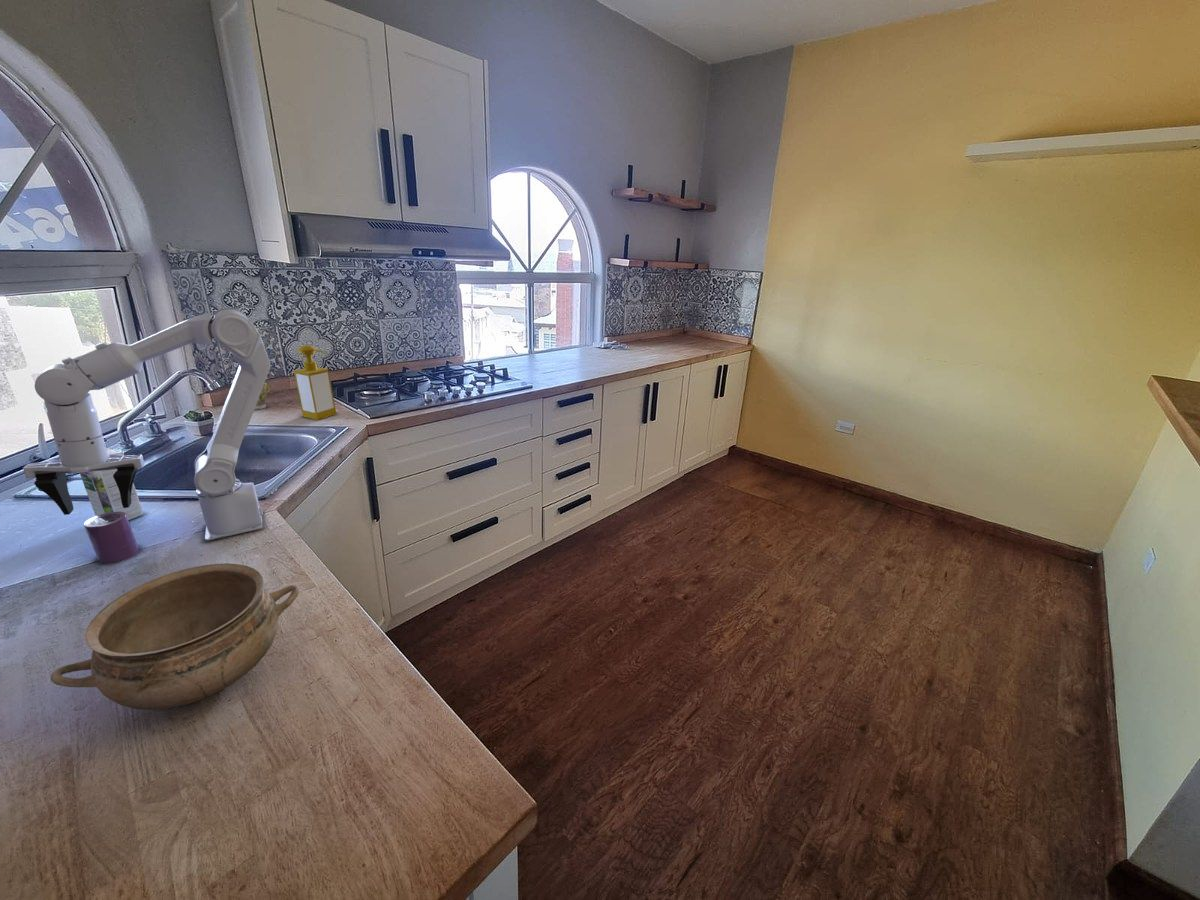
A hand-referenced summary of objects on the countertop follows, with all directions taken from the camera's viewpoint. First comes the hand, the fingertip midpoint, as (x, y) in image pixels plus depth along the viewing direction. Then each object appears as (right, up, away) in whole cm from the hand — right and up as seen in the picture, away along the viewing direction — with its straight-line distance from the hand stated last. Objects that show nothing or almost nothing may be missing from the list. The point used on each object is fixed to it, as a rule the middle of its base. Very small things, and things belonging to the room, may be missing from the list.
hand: (98, 508), depth 89 cm
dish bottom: (0, -9, +4) cm, 10 cm away
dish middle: (0, -7, +3) cm, 7 cm away
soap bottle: (-3, +22, +79) cm, 82 cm away
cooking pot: (+36, -20, -21) cm, 47 cm away
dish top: (0, -4, +2) cm, 5 cm away
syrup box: (-11, -4, +16) cm, 20 cm away
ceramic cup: (-30, +25, +86) cm, 95 cm away
